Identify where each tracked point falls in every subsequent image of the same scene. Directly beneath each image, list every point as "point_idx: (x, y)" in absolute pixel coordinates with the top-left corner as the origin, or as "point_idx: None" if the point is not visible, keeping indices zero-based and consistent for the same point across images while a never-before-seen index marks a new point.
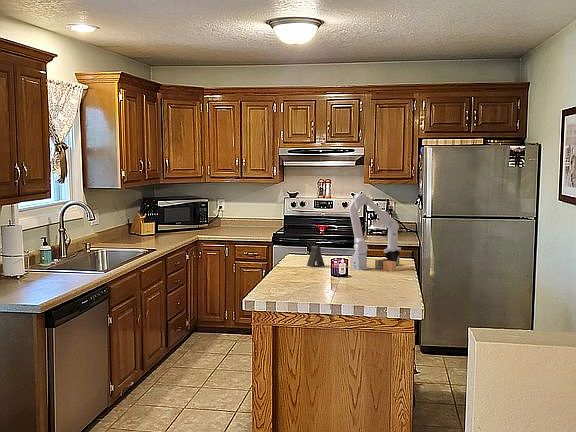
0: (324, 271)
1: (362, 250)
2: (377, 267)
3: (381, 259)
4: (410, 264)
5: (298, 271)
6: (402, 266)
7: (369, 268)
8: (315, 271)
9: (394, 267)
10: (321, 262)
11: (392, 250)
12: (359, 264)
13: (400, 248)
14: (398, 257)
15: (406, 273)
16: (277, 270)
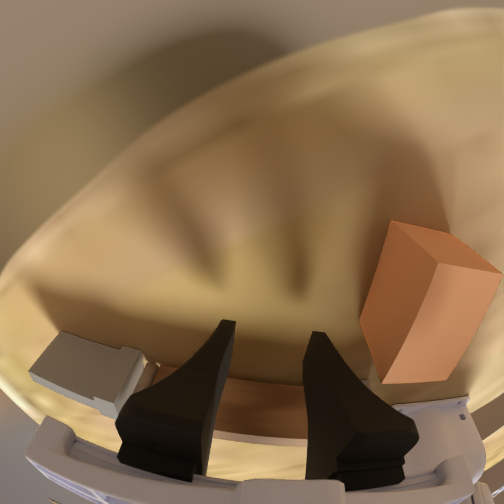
0: (500, 431)
1: (489, 498)
2: (368, 387)
3: (290, 445)
4: (10, 261)
5: (498, 451)
6: (112, 272)
7: (398, 404)
8: (499, 439)
9: (430, 237)
10: None
11: (390, 491)
12: (471, 426)
13: (41, 450)
14: (43, 371)
15: (487, 61)
16: (484, 470)
